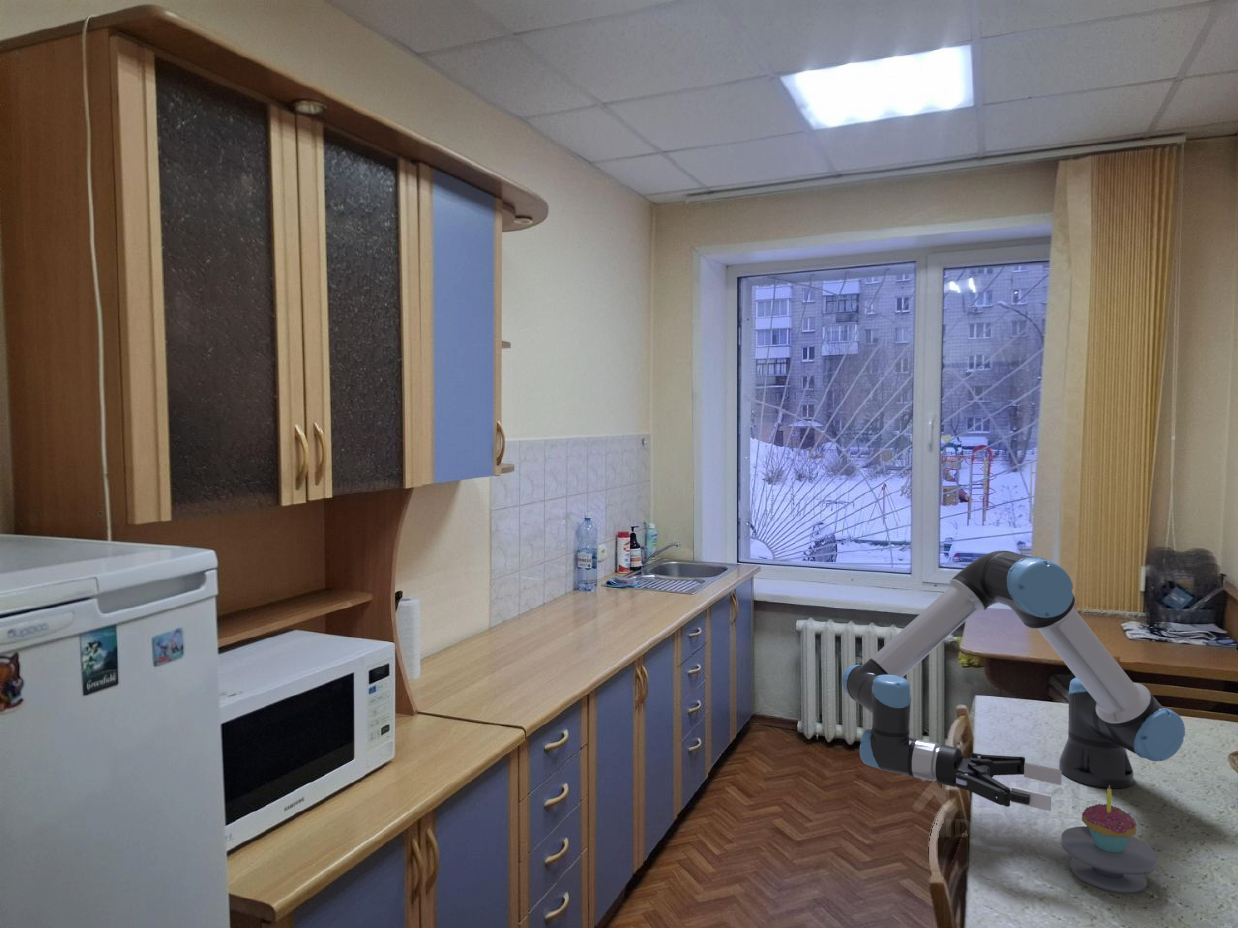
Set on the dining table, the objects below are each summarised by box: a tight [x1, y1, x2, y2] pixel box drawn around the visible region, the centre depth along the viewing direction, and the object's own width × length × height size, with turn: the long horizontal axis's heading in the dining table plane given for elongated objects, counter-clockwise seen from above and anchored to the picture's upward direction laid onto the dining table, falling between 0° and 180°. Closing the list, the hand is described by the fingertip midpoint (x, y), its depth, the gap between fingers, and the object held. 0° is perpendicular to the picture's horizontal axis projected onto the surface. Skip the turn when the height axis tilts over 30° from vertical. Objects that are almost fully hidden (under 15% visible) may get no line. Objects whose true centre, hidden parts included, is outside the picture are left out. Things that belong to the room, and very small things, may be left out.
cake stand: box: [1061, 825, 1159, 895], centre depth 148 cm, size 15×15×5 cm
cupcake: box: [1081, 785, 1137, 853], centre depth 148 cm, size 9×8×12 cm
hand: (1056, 789), depth 153 cm, fingers open, 13 cm apart
